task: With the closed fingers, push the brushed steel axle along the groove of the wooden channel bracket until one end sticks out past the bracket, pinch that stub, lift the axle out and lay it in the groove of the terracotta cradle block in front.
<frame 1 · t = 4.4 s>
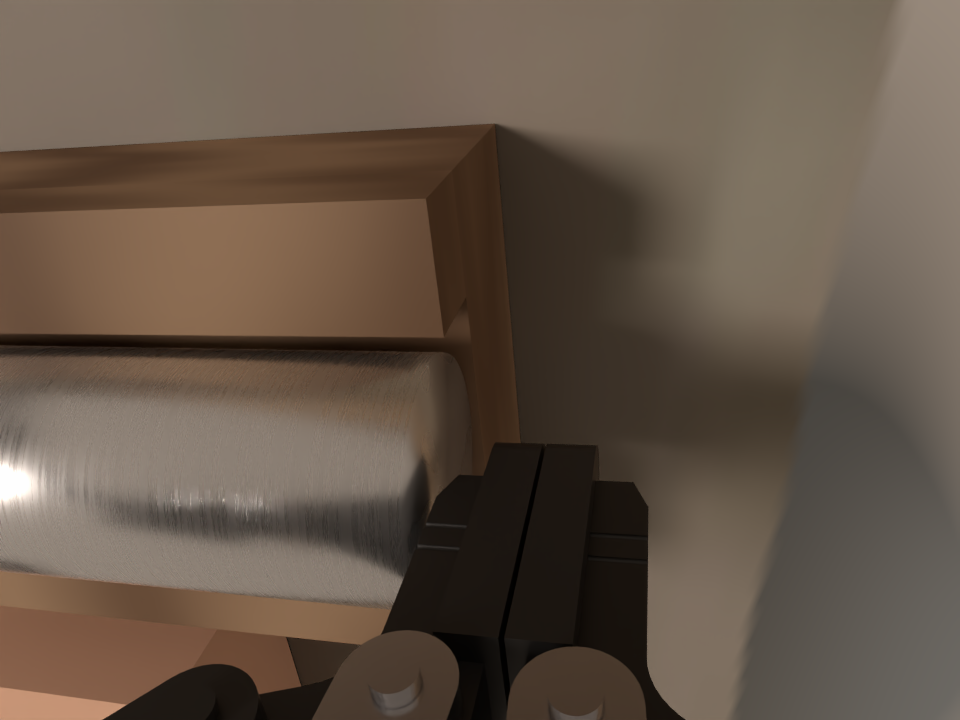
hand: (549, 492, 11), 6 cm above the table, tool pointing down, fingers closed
steel axle: (92, 405, 15), point 4 cm above the table, touching gripper, wooden channel bracket
wooden channel bracket: (191, 330, 18), on the table
terracotta cradle: (179, 670, 25), on the table
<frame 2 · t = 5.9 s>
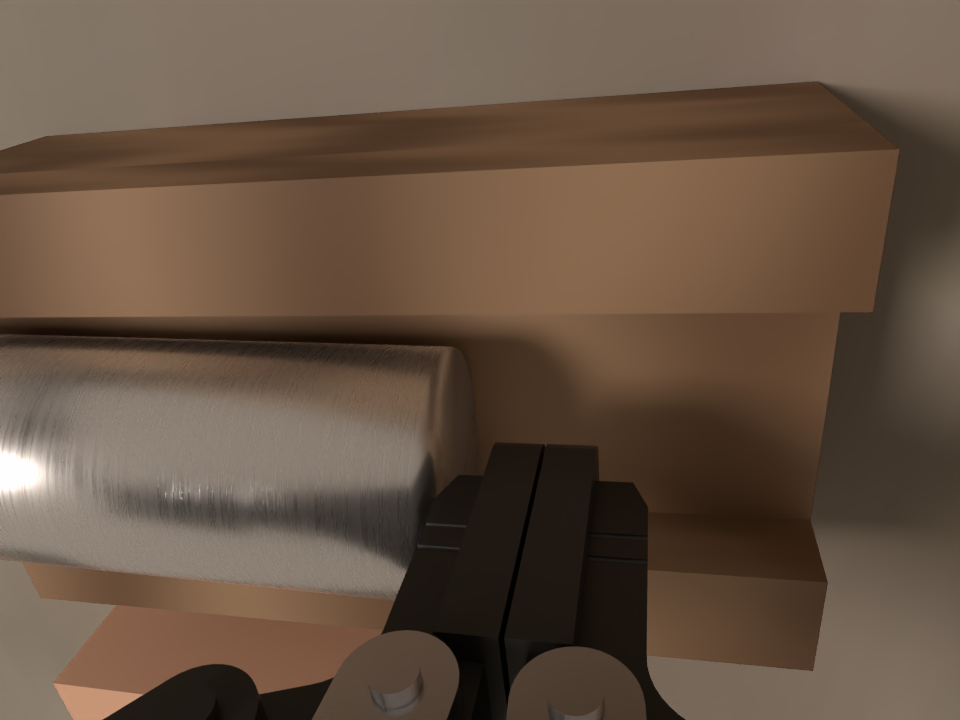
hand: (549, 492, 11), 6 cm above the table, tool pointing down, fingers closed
steel axle: (95, 394, 15), point 4 cm above the table, touching gripper, wooden channel bracket
wooden channel bracket: (416, 316, 17), on the table
terracotta cradle: (340, 679, 24), on the table
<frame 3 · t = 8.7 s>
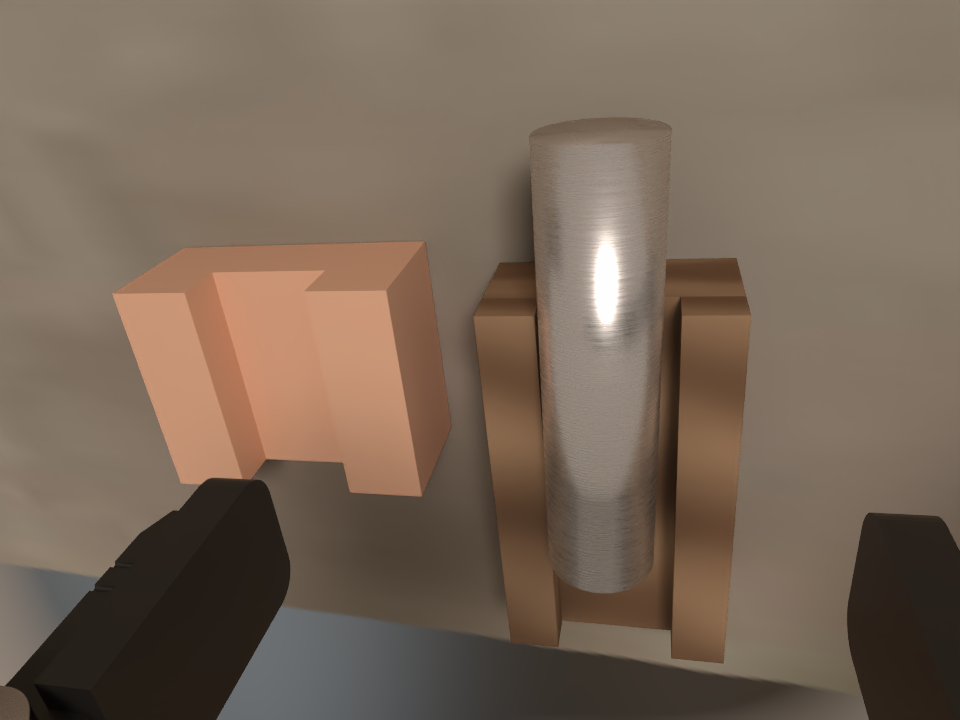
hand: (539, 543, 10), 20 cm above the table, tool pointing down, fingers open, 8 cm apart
steel axle: (608, 347, 26), point 4 cm above the table, touching wooden channel bracket
wooden channel bracket: (616, 432, 32), on the table
terracotta cradle: (321, 339, 33), on the table
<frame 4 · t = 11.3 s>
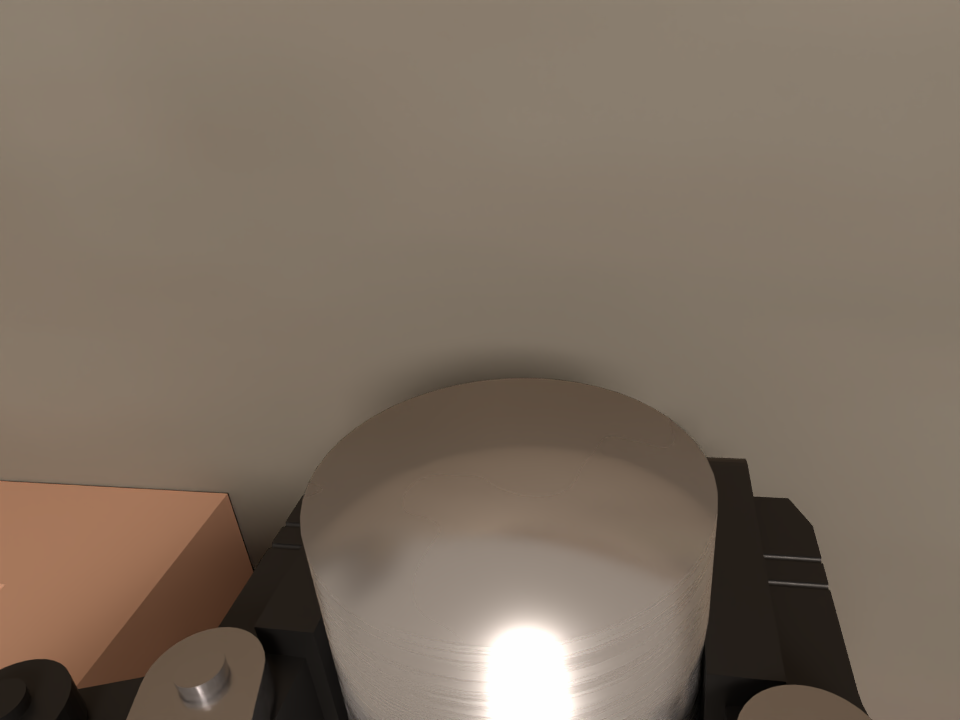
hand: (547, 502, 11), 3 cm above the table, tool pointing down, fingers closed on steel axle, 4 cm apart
terracotta cradle: (84, 619, 19), on the table
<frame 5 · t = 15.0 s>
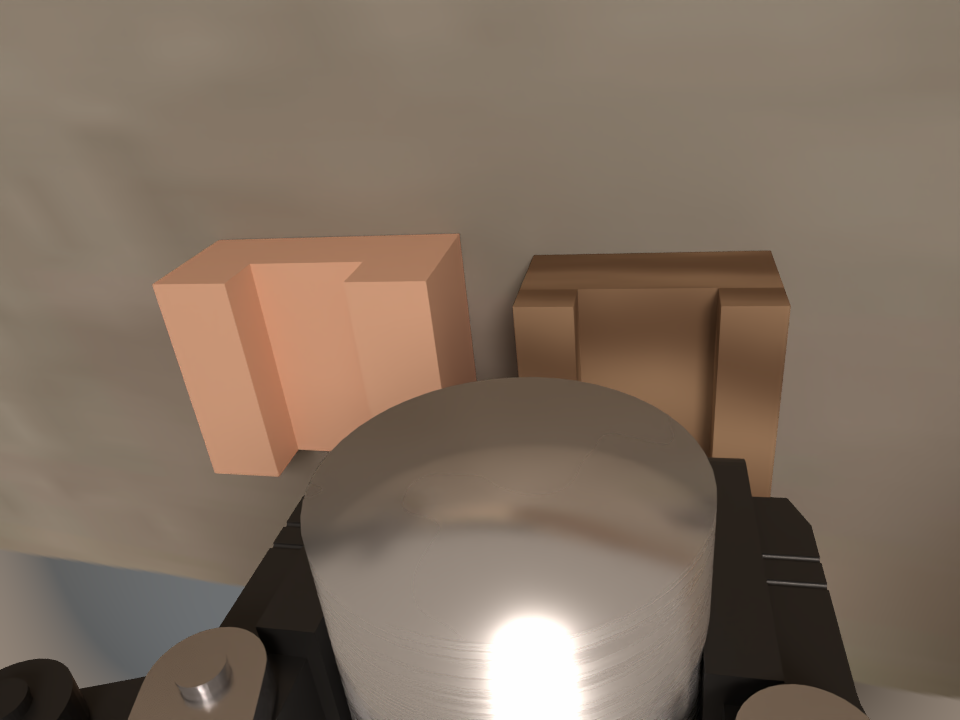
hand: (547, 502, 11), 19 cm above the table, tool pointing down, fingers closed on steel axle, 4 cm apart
wooden channel bracket: (646, 424, 32), on the table
terracotta cradle: (353, 331, 33), on the table
when the fingers open (4 cm above the table, at t = 19.0 s): steel axle drops 2 cm, resting on terracotta cradle.
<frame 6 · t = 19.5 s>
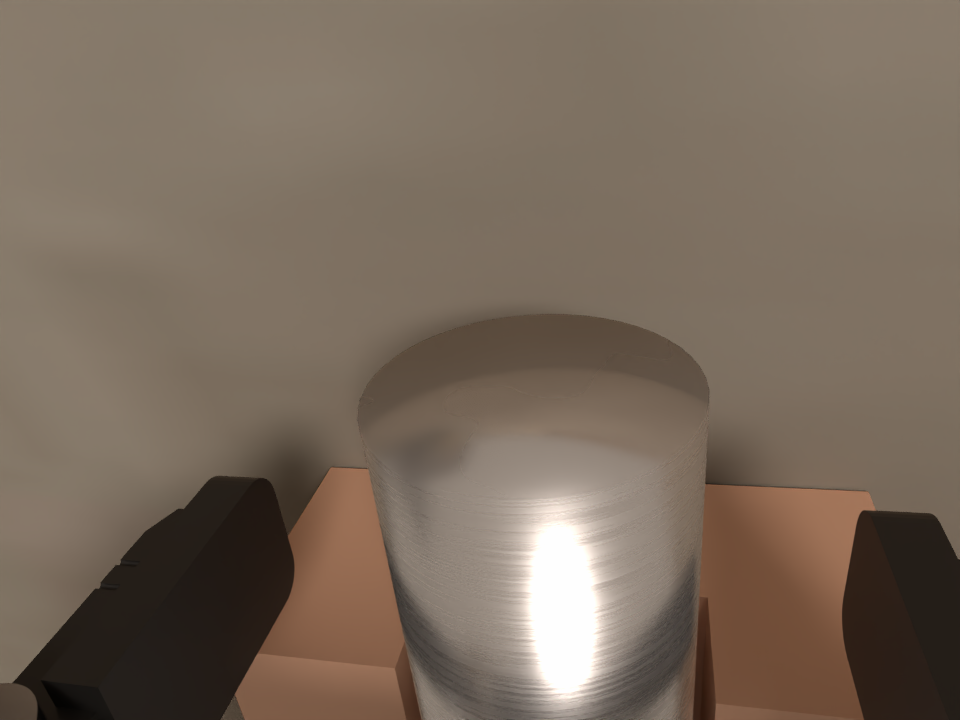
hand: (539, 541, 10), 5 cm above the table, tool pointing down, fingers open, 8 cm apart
steel axle: (572, 696, 14), point 3 cm above the table, touching terracotta cradle
terracotta cradle: (585, 631, 17), on the table
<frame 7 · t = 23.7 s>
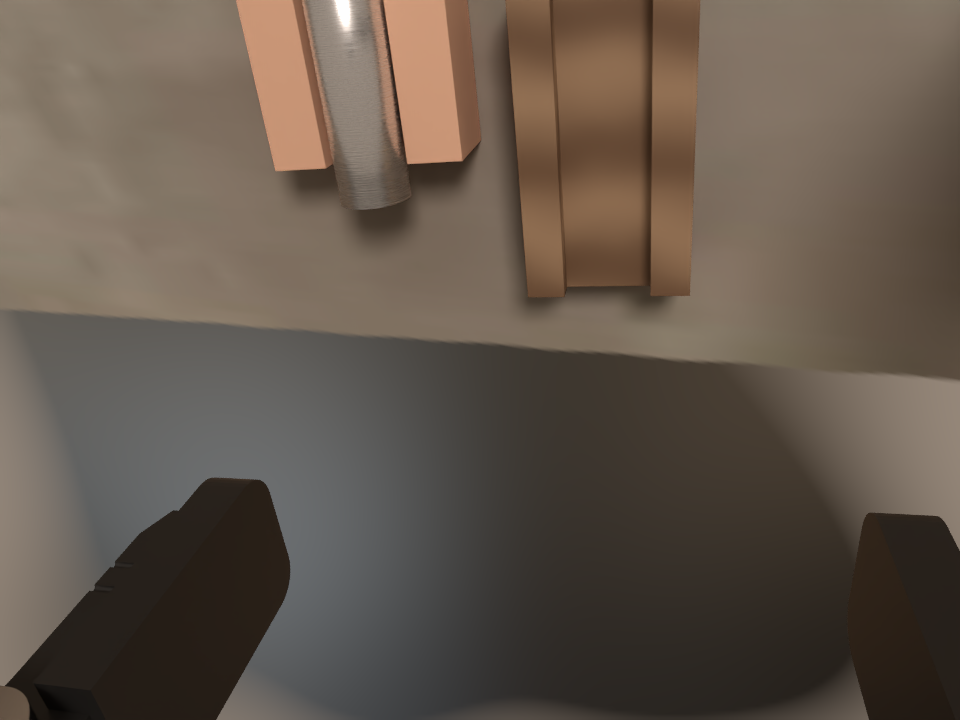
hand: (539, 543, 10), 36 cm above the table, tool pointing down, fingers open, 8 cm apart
steel axle: (360, 42, 40), point 3 cm above the table, tilted 6°, touching terracotta cradle
wooden channel bracket: (609, 132, 42), on the table
terracotta cradle: (381, 67, 43), on the table
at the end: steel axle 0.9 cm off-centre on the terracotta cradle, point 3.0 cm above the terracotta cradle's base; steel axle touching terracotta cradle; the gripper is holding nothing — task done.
